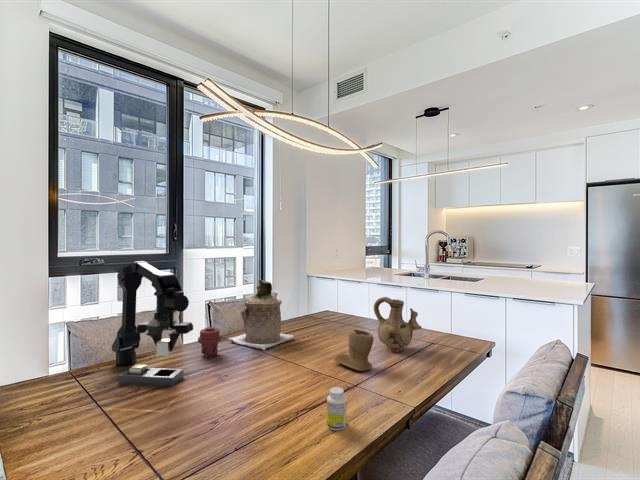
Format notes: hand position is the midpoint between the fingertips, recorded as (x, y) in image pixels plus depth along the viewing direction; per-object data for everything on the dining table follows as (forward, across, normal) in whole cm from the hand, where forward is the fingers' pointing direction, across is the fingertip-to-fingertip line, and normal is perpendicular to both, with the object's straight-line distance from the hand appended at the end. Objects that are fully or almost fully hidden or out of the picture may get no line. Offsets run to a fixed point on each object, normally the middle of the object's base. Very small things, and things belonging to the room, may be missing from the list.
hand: (165, 351), depth 125 cm
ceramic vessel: (+12, +90, +45) cm, 101 cm away
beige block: (+11, -10, 0) cm, 15 cm away
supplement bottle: (+12, +63, -23) cm, 68 cm away
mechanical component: (+11, +5, +29) cm, 31 cm away
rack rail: (+11, -5, 0) cm, 12 cm away
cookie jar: (+12, +23, +53) cm, 59 cm away
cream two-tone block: (+1, 0, 0) cm, 1 cm away
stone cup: (+12, +70, +23) cm, 75 cm away
